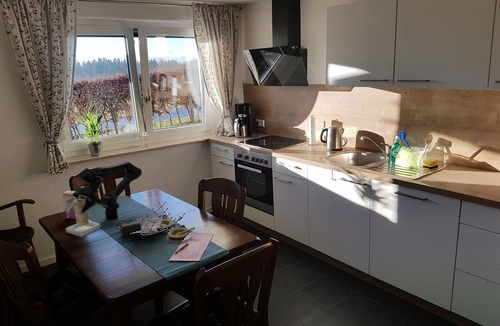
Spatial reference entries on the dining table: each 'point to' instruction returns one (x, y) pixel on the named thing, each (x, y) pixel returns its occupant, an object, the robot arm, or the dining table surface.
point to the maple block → (80, 212)
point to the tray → (83, 229)
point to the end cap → (130, 228)
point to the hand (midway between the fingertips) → (79, 211)
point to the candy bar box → (69, 204)
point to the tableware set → (173, 231)
